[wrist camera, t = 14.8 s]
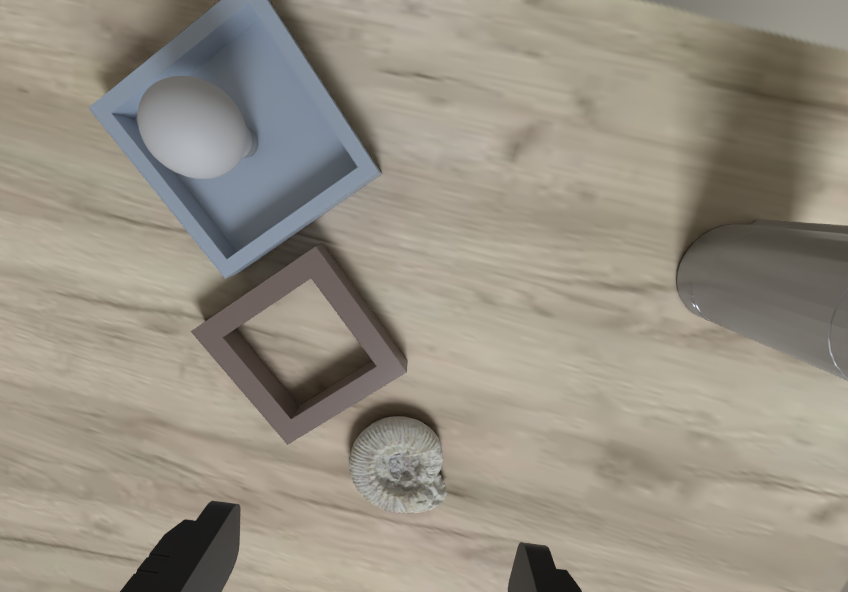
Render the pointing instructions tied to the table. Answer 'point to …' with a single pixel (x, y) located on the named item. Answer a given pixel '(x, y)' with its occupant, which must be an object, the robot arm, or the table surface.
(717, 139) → the table surface
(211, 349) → the brownish grey square frame
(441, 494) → the fossil
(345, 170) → the tray
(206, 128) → the lightbulb
